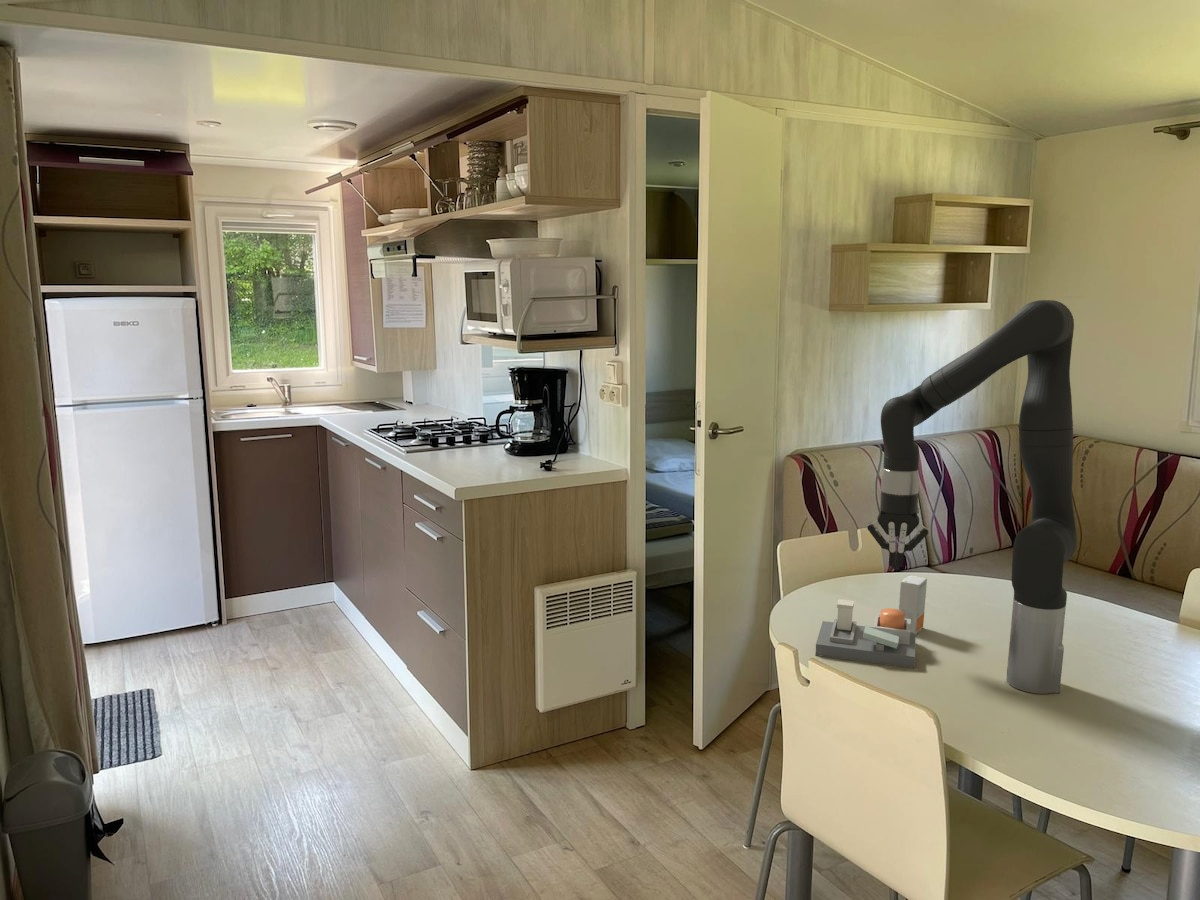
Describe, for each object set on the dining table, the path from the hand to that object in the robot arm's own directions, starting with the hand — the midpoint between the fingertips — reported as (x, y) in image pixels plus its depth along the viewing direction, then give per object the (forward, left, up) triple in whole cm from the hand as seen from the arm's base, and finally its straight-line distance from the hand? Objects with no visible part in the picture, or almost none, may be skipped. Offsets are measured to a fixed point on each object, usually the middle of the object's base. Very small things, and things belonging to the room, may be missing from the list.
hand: (895, 568), depth 192 cm
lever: (+10, -1, -15) cm, 18 cm away
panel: (+5, +3, -18) cm, 19 cm away
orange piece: (0, 0, -15) cm, 15 cm away
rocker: (+2, +7, -13) cm, 15 cm away
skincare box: (-4, -12, -18) cm, 22 cm away
